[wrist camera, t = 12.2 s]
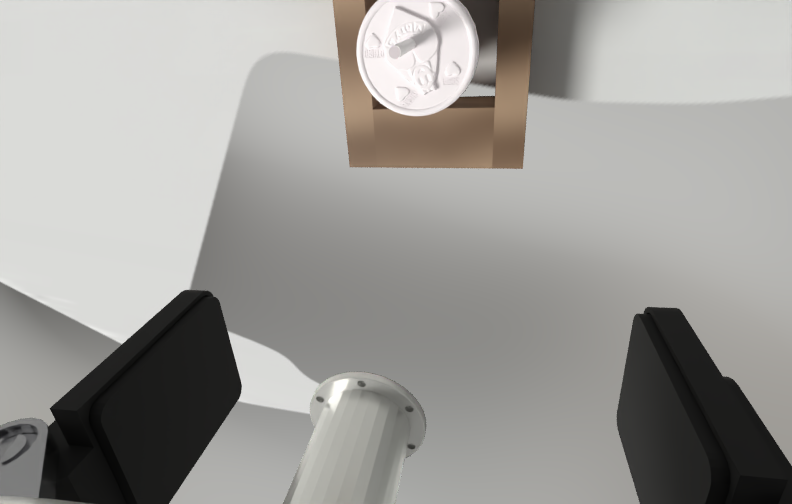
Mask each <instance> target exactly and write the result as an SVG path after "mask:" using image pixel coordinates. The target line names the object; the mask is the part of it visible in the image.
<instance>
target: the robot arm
mask: <svg viewBox="0 0 792 504" xmlns="http://www.w3.org/2000/svg"><path fill="white" fill-rule="evenodd" d="M241 388H242V385H241V380H240V377H239V373H238V369H237V365H236V362H235V358H234V354H233V350H232V347H231V343H230V339H229V336H228V332H227V328H226V325H225V321H224V317H223V313H222V310H221V306H220V302H219V300H218V299H217V298H216V297H213V295H212V293H211V292H209V291H198V290H184V291H183V292H181V293H180V294H179V295H178V296H176V297H175V298H174V299H173V300H172V301H171V302H170V303H169V304H167V305H166V306H165V307H164V308H163V309H162V310H161V311H160V312H158V313H157V314H156V315H155V316H154V317H153V318H152V319H150V320H149V321H148V322H147V323H146V324H145V325H144V326H143V327H141V328H140V329H139V330H138V331H137V332H136V333H135V334H133V335H132V336H131V337H130V338H129V339H128V340H127V341H126V342H124V343H123V344H122V345H121V346H120V347H119V348H118V349H117V350H115V351H114V352H113V353H112V354H111V355H110V356H109V357H108V358H107V359H105V360H104V361H103V362H102V363H101V364H100V365H98V366H97V367H96V368H95V369H94V370H93V371H92V372H90V373H89V374H88V375H87V376H86V377H85V378H84V379H83V380H81V381H80V382H79V383H78V384H77V385H76V386H75V387H74V388H72V389H71V390H70V391H69V392H68V393H67V394H66V395H64V396H63V397H62V398H61V399H60V400H59V401H58V402H56V403H55V404H54V405H53V406H52V407H51V408H50V410H51V412H52V414H53V416H54V418H55V421H54V422H53V423H52V424H51V425H50V426H49V427H48V425H47V424H46V423H45V422H44V421H43V420H41V419H36V418H25V419H19V420H15V421H11V422H8V423H6V424H3V425H1V426H0V504H169V502H170V501H171V499H172V498H173V496H174V495H175V493H176V492H177V490H178V489H179V487H180V486H181V484H182V483H183V481H184V480H185V478H186V477H187V475H188V474H189V473H190V471H191V469H192V468H193V467H194V465H195V464H196V462H197V460H198V459H199V457H200V456H201V455H202V453H203V452H204V450H205V448H206V447H207V445H208V444H209V442H210V441H211V440H212V438H213V436H214V435H215V433H216V432H217V430H218V429H219V427H220V426H221V425H222V423H223V421H224V420H225V418H226V417H227V415H228V414H229V412H230V411H231V409H232V408H233V407H234V405H235V404H236V402H237V401H238V399H239V397H240V394H241ZM310 416H311V421H312V423H313V425H314V428H315V430H314V432H313V434H312V437H311V439H310V441H309V444H308V446H307V448H306V451H305V453H304V455H303V458H302V460H301V462H300V465H299V467H298V470H297V472H296V474H295V476H294V479H293V481H292V483H291V486H290V488H289V490H288V493H287V495H286V497H285V500H284V502H283V504H395V503H396V498H397V493H398V488H399V484H400V479H401V474H402V469H403V464H404V460H405V458H407V457H409V456H411V455H412V454H413V453H414V452H416V451H417V450H418V448H419V447H420V446H421V444H422V442H423V439H424V437H425V431H426V418H425V415H424V411H423V409H422V407H421V405H420V404H419V402H418V401H417V400H416V398H415V397H414V396H413V395H412V394H411V393H410V392H409V391H408V390H406V389H405V388H404V387H403V386H401V385H399V384H398V383H396V382H395V381H393V380H390V379H388V378H386V377H383V376H380V375H376V374H373V373H367V372H346V373H340V374H337V375H335V376H332V377H330V378H328V379H327V380H325V381H324V382H322V383H321V385H320V386H319V387H318V388H317V390H316V392H315V393H314V395H313V398H312V400H311V403H310ZM617 426H618V431H619V435H620V438H621V442H622V444H623V448H624V452H625V455H626V458H627V462H628V465H629V468H630V472H631V475H632V478H633V482H634V485H635V488H636V492H637V495H638V498H639V502H640V504H792V466H791V464H790V463H789V461H788V460H787V458H786V457H785V455H784V454H783V452H782V451H781V450H780V448H779V446H778V445H777V444H776V442H775V440H774V439H773V437H772V436H771V434H770V433H769V431H768V430H767V428H766V427H765V425H764V424H763V422H762V421H761V419H760V418H759V416H758V415H757V413H756V412H755V410H754V408H753V407H752V405H751V404H750V402H749V401H748V399H747V398H746V396H745V395H744V393H743V392H742V390H741V389H740V387H739V386H738V385H737V383H736V382H735V381H734V380H733V379H731V378H729V377H723V376H722V375H721V373H720V372H719V370H718V368H717V367H716V365H715V364H714V362H713V360H712V359H711V357H710V356H709V354H708V353H707V351H706V349H705V348H704V346H703V345H702V343H701V342H700V340H699V339H698V337H697V335H696V334H695V332H694V330H693V329H692V327H691V326H690V324H689V323H688V321H687V320H686V318H685V316H684V315H683V313H682V312H681V310H680V309H677V308H657V307H647V308H646V309H645V311H644V314H636V315H635V317H634V320H633V325H632V331H631V336H630V342H629V348H628V354H627V359H626V365H625V371H624V376H623V382H622V388H621V393H620V399H619V405H618V410H617Z"/></svg>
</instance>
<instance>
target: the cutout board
mask: <svg viewBox="0 0 792 504" xmlns="http://www.w3.org/2000/svg"><path fill="white" fill-rule="evenodd" d="M376 1H377V0H333V7H334V17H335V27H336V37H337V47H338V56H339V66H340V75H341V86H342V95H343V105H344V115H345V124H346V134H347V144H348V154H349V164H350V167H394V168H395V167H396V168H402V167H403V168H404V167H405V168H514V169H517V168H518V169H520V168H521V169H522V168H523V156H524V143H525V130H526V116H527V102H528V89H529V75H530V61H531V47H532V34H533V20H534V6H535V0H499V16H498V40H497V64H496V88H495V96H478V97H459V98H458V99H457V100H456V101H455V102H454V103H452V104H451V105H450V106H448V107H447V108H445V109H443V110H441V111H439V112H436V113H434V114H430V115H425V116H408V115H403V114H400V113H397V112H394V111H392V110H390V109H388V108H387V107H385V106H384V105H382V104H381V103H380V102H379V101H378V100H377V99H376V98H375V97H374V96H373V95H372V94H371V93H370V91H369V90H368V88H367V87H366V85H365V83H364V81H363V79H362V77H361V74H360V71H359V67H358V63H357V52H356V49H357V38H358V34H359V30H360V27H361V24H362V22H363V20H364V18H365V16H366V14H367V12H368V11H369V10H370V8H371V7H372V6H373V5H374V3H375V2H376Z"/></svg>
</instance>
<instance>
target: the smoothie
mask: <svg viewBox="0 0 792 504" xmlns="http://www.w3.org/2000/svg"><path fill="white" fill-rule="evenodd" d="M356 52H357V63H358V67H359V71H360V74H361V77H362V79H363V81H364V83H365V85H366V87H367V88H368V90H369V91H370V93H371V94H372V95H373V96H374V97H375V98H376V99H377V100H378V101H379V102H380V103H381V104H382V105H384V106H385V107H387V108H388V109H390V110H392V111H394V112H397V113H400V114H403V115H408V116H425V115H430V114H434V113H436V112H439V111H441V110H443V109H445V108H447V107H448V106H450V105H451V104H452V103H454V102H455V101H456V100H457V99H458V98H459V97H460V96H461V95H462V94H463V93H464V92H465V91H466V89H467V87H468V85H469V84H470V82H471V80H472V78H473V77H474V74H475V70H476V67H477V63H478V59H479V40H478V35H477V30H476V26H475V23H474V21H473V19H472V17H471V16H470V14H469V12H468V10H467V8H466V7H465V6H464V5H463V4H462V3H461V2H460V1H459V0H377V1H376V2H375V3H374V5H373V6H372V7H371V8H370V10H369V11H368V12H367V14H366V16H365V18H364V20H363V22H362V24H361V27H360V30H359V34H358V38H357V49H356Z"/></svg>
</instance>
